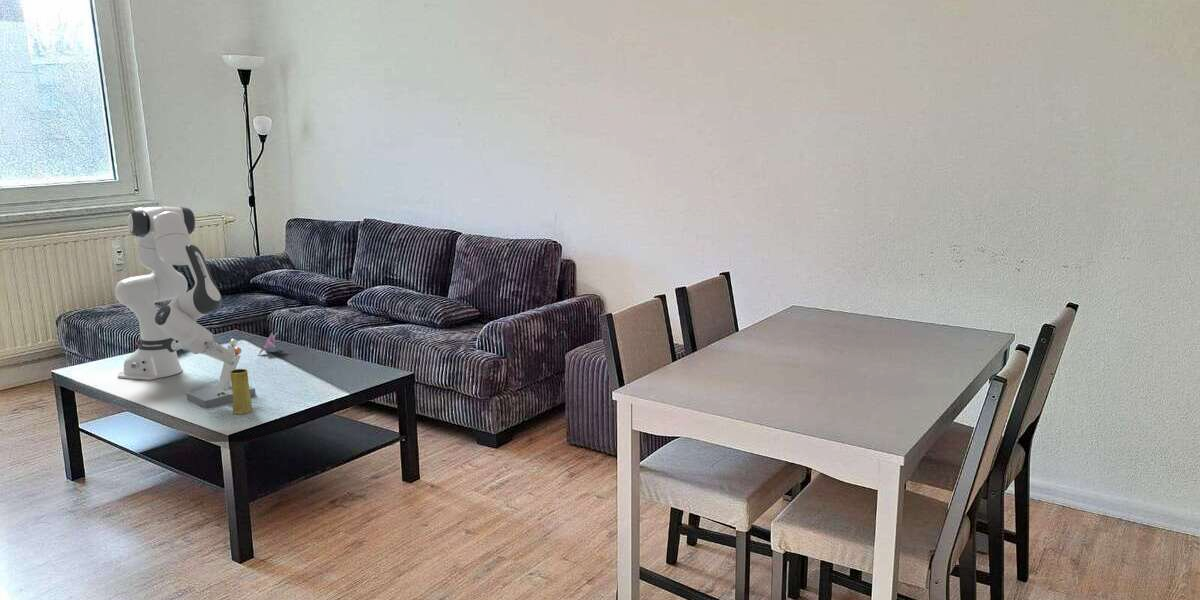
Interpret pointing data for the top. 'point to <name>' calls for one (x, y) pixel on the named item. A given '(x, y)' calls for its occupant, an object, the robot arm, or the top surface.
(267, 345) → the lily
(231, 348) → the switch
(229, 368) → the switch
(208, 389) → the console
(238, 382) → the vase
